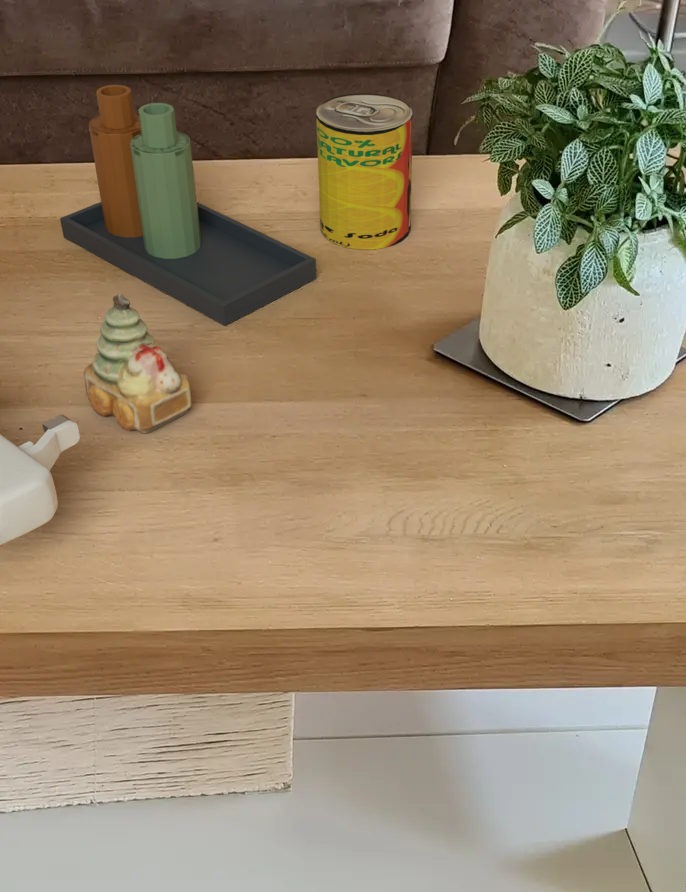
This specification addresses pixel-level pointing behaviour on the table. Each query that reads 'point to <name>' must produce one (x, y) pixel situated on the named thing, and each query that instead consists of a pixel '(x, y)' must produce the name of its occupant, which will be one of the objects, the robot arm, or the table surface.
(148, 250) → the green bottle
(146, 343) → the ornament
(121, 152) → the amber bottle
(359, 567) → the table surface
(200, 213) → the tray
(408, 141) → the beverage can
